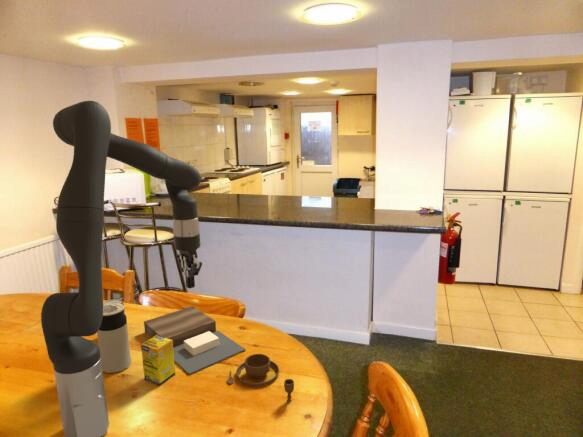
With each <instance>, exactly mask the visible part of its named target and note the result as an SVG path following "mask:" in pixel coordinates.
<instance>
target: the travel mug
mask: <svg viewBox="0 0 583 437" xmlns="http://www.w3.org/2000/svg"><path fill="white" fill-rule="evenodd" d="M123 309H124V310H125V304H124V305H122V304H119V303H112V304H106V305H103V318H102V323H101V326H100V328H99V330H98V331H97V333H96V335H97V345H98V346H99V349H100V356H101V364H102V372H104V373H108V374H112V373H120V372H122V371H124V370H125V369H127V368H129V367H130V366H131V364H132V356H131V347H130V340H129V328H128V320H127V315H126V313H125V314H124V313H123Z"/></svg>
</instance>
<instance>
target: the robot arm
mask: <svg viewBox="0 0 583 437" xmlns="http://www.w3.org/2000/svg"><path fill="white" fill-rule="evenodd" d="M111 122H112V121H111V119H110V115H109V113H108V111H107V109H106V108H105V107H104V106H103V105H102V104H101V103H99V102H98V101H94V100H85V101H79V102H76V103H75V104H71V105H69V106H67V107H63V108H62V109H60V110H59V111H58V112H56V113H55V115H54V117H53V120H52V127H53V131H54V133H55V135H57V138H58V139H60V140H61V142H63V143H64V144H67V145H69V146H71V147H73V156H72V163H71V165H70V169H69V172H68V174H67V176H66V178H65V181H64V183H63V185H62V187H61V190H60V193H59V196H58V200H57V207H56V220H55V221H56V226H55V227H56V230H55V231H56V234H57V236H58V239H59V241H60V242H61V244H62V246H63V247H64V249H65V250H66V252H67V254H68V256H69V257H70V259H71V260H72V262H73V263H74V266H75V269H76V273H77V277H78V287H79V288H78V292H76V291H75V292H55V293H52V294H50V295H49V296H47V297H46V299H45V301H44V302H43V305H42V308H41V314H40V316H41V317H40V323H41V329H42V333H43V337H44V343H45V346H46V350H47V355H48V359H49V360H50V362H51V363H52V367H53V372H54V378H55V385H56V390H57V397H58V404H59V410H60V411H59V412H60V417H61V423H62V428H63V434H64V435H63V437H103V436H105V435H107V434H108V428H109V425H110V420H109V411H108V405H107V404H108V403H107V397H106V396H107V395H106V389H105V381H104V373H103V372H104V371H103V370H102V364H101V356H100V349H99V344H98V343H96V342H95V341H93V340H91V339H87V338H85V337H92V336H94V335H97V331H98V330H99V328H100V326H101V323H102V318H103V303H104V293H103V292H104V290H103V288H104V287H103V272H102V271H103V270H102V266H103V265H102V263H103V262H102V255H103V254H102V253H103V252H102V251H103V234H104V224H105V223H104V218H105V187H106V170H107V169H106V167H107V159H108V158H110V159H113V160H114V161H117V162H120V163H123V164H125V165H127V166H130V167H132V168H134V169H137V170H138V171H140V172H143V173H145V174H146V175H149V176H150V177H153V178H155V179H159V180H164V183H165V187H166V191H167V194H168V197H169V200H170V202H171V205H172V219H173V221H172V232H173V244H174V245H173V246H174V249H175V250H176V251H178V252H179V254H176V255H175V258H176V260H177V263H178V266H179V268H180V271H181V273H183V276H184V277H185V287H186V288H187V289H193V288H195V286H196V283H195V276H198V275H199V273H200V272H201V268H202V266H203V262H202V261H199V260H198V253H197V250H198V249H200V247H201V233H200V222H199V216H198V214H199V213H198V202H197V200H196V199H195V198H194V197H192V196H190V195H189V192H188V191H192V190H195V189H196V188H198V187H199V185H200V184H201V181H202V178H201V174H200V172H199V169H197V168H196V167H195V166H194V165H192V164H190V163H187V162H184V161H182V160H180V159H177V158H174V157H171V156H169V155H168V154H166V153H165V152H162V151H161V150H159V149H157V148H156V147H153V146H151V145H149V144H146V143H144V142H140V141H137V140H135V139H130V138H126V137H123V136H119V135H117V134H114V133H112V123H111Z"/></svg>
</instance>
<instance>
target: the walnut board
mask: <svg viewBox="0 0 583 437" xmlns="http://www.w3.org/2000/svg"><path fill="white" fill-rule="evenodd" d="M216 324H217V323H216V320H215V319H213V318H212V317H210V316H209V315H207V314H206V313H204V312H203V311H201V310H199V309H198V308H196V307H195V306H193V305H191V306H188V307H185V308H181V309H178V310H176V311H172V312H169V313H167V314H163V315H160V316H158V317H154V318H150V319H148V320H144V321H143V326H144V333H145V334H146V335H147V336H148V337H149V339H151V338H153V337H154V336H156V335H158V336H161V337H164V338H167V339H171V340H173V348H174V347H176V346H179V345H181V344H184V340H187V339H190V338H192V337H195V336H198V335H200V334H203V333H206V332H208V331H210V332H211V333H213V332H216V331H217V326H216Z"/></svg>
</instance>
